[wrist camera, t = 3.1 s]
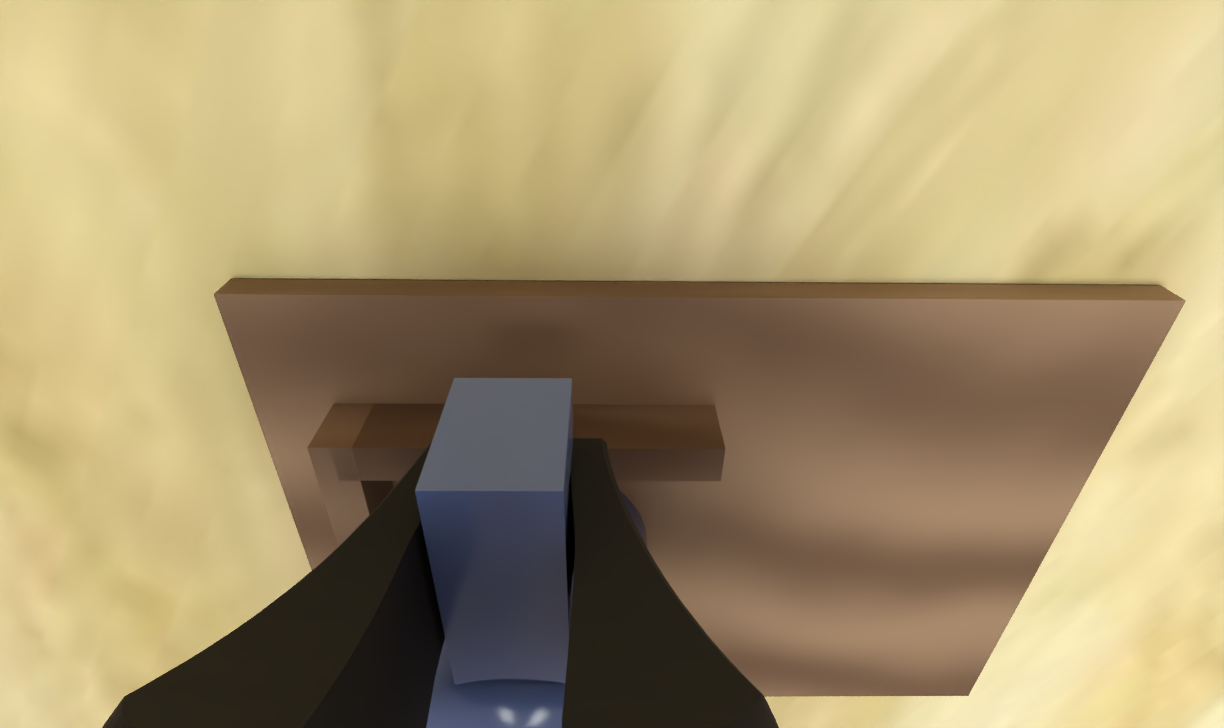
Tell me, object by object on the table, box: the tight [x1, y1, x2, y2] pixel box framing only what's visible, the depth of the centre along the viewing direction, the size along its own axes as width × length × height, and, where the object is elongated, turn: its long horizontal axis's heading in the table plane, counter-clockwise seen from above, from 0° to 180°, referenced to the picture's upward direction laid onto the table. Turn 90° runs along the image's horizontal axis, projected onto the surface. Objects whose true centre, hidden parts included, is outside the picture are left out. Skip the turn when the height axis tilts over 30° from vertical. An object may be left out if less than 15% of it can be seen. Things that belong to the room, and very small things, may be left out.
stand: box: [214, 279, 1185, 696], centre depth 19 cm, size 16×22×2 cm
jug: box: [415, 378, 647, 728], centre depth 15 cm, size 12×6×6 cm, turn 179°
